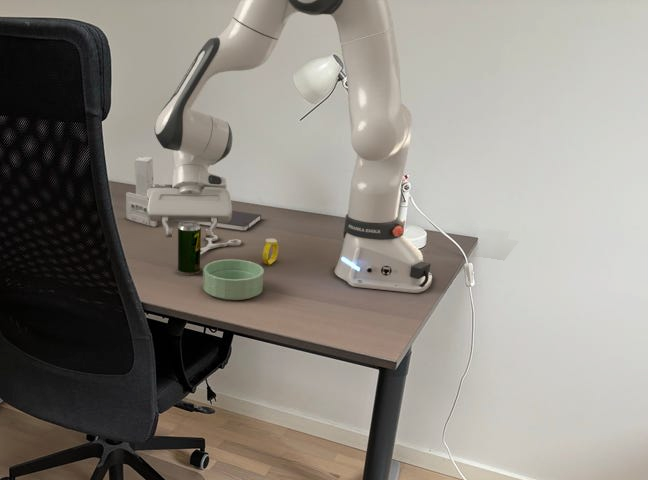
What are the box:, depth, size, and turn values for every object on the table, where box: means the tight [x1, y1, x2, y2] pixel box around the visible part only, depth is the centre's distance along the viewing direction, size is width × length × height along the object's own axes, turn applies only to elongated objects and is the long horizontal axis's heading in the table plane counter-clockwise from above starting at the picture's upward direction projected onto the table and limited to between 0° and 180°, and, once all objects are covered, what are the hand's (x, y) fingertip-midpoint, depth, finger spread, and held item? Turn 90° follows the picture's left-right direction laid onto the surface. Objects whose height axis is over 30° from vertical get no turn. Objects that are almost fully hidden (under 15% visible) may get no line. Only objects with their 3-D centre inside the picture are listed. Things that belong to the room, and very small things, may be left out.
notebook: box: [200, 210, 262, 232], centre depth 215 cm, size 13×2×21 cm
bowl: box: [202, 258, 265, 301], centre depth 166 cm, size 13×13×5 cm
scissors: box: [200, 231, 242, 256], centre depth 192 cm, size 11×1×20 cm
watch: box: [262, 237, 279, 266], centre depth 182 cm, size 6×3×6 cm, turn 148°
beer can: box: [177, 220, 202, 276], centre depth 174 cm, size 5×5×12 cm
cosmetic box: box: [134, 156, 155, 197], centre depth 235 cm, size 6×4×12 cm
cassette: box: [125, 191, 158, 228], centre depth 211 cm, size 12×2×8 cm, turn 47°
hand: (189, 236), depth 175 cm, fingers open, 8 cm apart
